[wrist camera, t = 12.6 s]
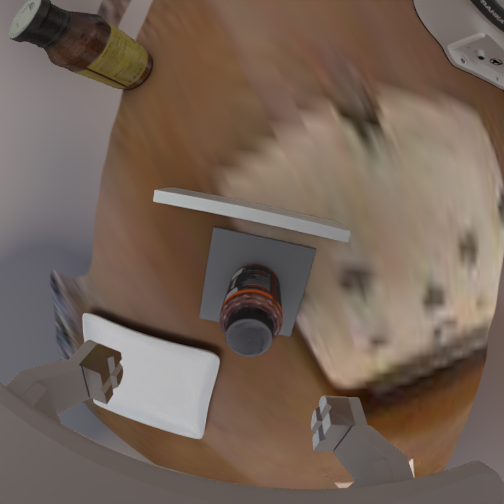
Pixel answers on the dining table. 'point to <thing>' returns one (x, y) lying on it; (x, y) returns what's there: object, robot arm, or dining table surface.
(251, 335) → the supplement bottle
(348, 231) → the acrylic wall
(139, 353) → the salad plate
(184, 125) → the dining table surface
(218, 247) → the rubber mat
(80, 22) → the sauce bottle
